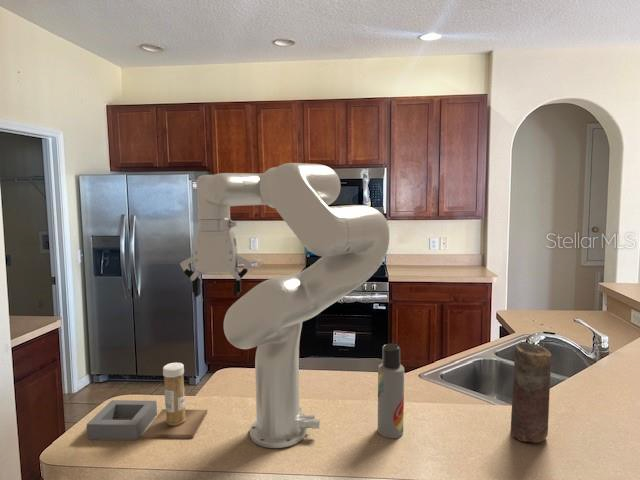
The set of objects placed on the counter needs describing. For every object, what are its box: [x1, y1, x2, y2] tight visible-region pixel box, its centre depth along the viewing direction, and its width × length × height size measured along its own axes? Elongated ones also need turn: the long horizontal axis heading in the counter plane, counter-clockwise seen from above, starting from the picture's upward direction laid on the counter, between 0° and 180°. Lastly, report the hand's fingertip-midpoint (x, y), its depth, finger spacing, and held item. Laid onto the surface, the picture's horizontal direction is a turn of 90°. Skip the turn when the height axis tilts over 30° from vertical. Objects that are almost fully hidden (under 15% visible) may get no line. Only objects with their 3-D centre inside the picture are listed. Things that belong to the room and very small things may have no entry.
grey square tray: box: [86, 399, 158, 441], centre depth 103 cm, size 11×11×4 cm
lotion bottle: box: [377, 343, 405, 439], centre depth 99 cm, size 6×6×20 cm
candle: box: [510, 342, 552, 443], centre depth 97 cm, size 8×7×20 cm
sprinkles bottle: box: [162, 362, 186, 426], centre depth 103 cm, size 5×5×13 cm
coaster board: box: [142, 408, 208, 439], centre depth 104 cm, size 11×11×1 cm
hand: (217, 295), depth 111 cm, fingers open, 9 cm apart
